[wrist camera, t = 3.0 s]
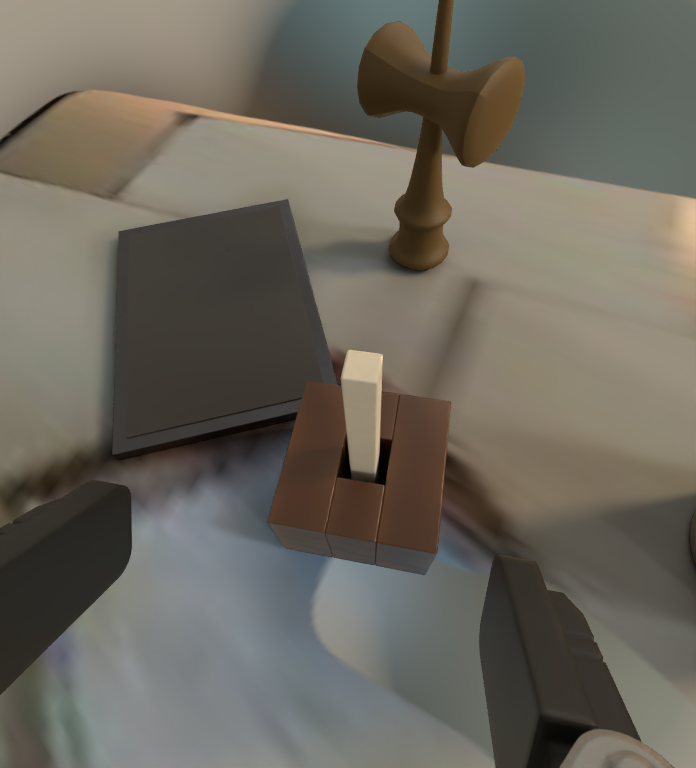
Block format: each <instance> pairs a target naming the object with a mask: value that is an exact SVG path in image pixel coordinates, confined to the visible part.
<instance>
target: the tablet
mask: <svg viewBox="0 0 696 768" xmlns="http://www.w3.org/2000/svg"><path fill="white" fill-rule="evenodd" d="M306 381H312V382H319V383H326V384H334V385H338V383H337V380H336V376H335V372H334V368H333V365H332V361H331V357H330V354H329V350H328V346H327V342H326V339H325V335H324V331H323V328H322V324H321V320H320V316H319V313H318V309H317V305H316V302H315V298H314V294H313V291H312V287H311V283H310V279H309V276H308V272H307V268H306V265H305V261H304V257H303V253H302V250H301V246H300V242H299V239H298V235H297V231H296V227H295V224H294V220H293V216H292V213H291V209H290V205H289V202H288V199H286V200H281V201H276V202H270V203H265V204H260V205H255V206H249V207H244V208H239V209H234V210H229V211H223V212H218V213H213V214H208V215H202V216H197V217H192V218H187V219H181V220H176V221H171V222H166V223H160V224H155V225H150V226H145V227H139V228H134V229H129V230H124V231H119V241H118V275H117V310H116V344H115V379H114V414H113V448H112V455H113V456H114V457H116V458H117V459H118V460H122V459H126V458H130V457H135V456H139V455H143V454H148V453H152V452H156V451H161V450H165V449H169V448H173V447H178V446H182V445H186V444H191V443H195V442H199V441H204V440H208V439H212V438H217V437H221V436H225V435H229V434H234V433H238V432H242V431H247V430H251V429H255V428H260V427H264V426H268V425H272V424H277V423H281V422H285V421H290V420H294V419H296V417H297V413H298V410H299V406H300V403H301V399H302V395H303V392H304V388H305V385H306Z"/></svg>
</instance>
